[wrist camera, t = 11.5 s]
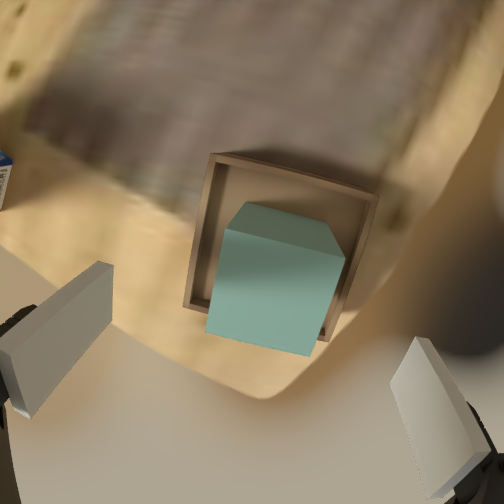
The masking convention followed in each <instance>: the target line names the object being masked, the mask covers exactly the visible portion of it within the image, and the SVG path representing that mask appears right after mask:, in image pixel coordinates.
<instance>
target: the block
mask: <svg viewBox="0 0 504 504" xmlns="http://www.w3.org/2000/svg"><path fill="white" fill-rule="evenodd" d="M345 259H346V258H345V256H344V254H343V252H342V250H341V249H340V247H339V245H338V243H337V241H336V239H335V237H334V235H333V234H332V232H331V230H330V228H329V226H328V224H327V223H326V222H323V221H320V220H316V219H312V218H308V217H304V216H300V215H296V214H293V213H289V212H285V211H281V210H277V209H273V208H269V207H265V206H260V205H256V204H252V203H248V202H245V203H244V204H243V205H242V207H241V208H240V209H239V211H238V212H237V213H236V215H235V216H234V217H233V219H232V220H231V221H230V223H229V224H228V225H227V227H226V228H225V232H224V237H223V242H222V247H221V252H220V257H219V261H218V266H217V271H216V276H215V282H214V287H213V292H212V297H211V302H210V307H209V312H208V318H207V323H206V328H205V332H207V333H210V334H214V335H218V336H222V337H226V338H230V339H234V340H237V341H242V342H246V343H250V344H254V345H258V346H262V347H267V348H271V349H275V350H280V351H285V352H289V353H294V354H299V355H303V356H308V357H310V355H311V353H312V350H313V348H314V345H315V343H316V340H317V337H318V335H319V332H320V330H321V327H322V324H323V322H324V319H325V316H326V314H327V311H328V308H329V306H330V303H331V300H332V297H333V294H334V292H335V289H336V286H337V283H338V280H339V277H340V274H341V271H342V268H343V265H344V262H345Z"/></svg>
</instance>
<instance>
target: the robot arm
mask: <svg viewBox="0 0 504 504" xmlns="http://www.w3.org/2000/svg"><path fill="white" fill-rule="evenodd" d="M113 269H114V265H111V264H108V263H104V262H101V261H97V262H96V263H95V264H93V265H92V266H90V267H89V268H88V269H86V270H85V271H84V272H82V273H81V274H80V275H78V276H77V277H76V278H74V279H73V280H72V281H70V282H69V283H68V284H66V285H65V286H64V287H62V288H61V289H60V290H58V291H57V292H56V293H55V294H53V295H52V296H51V297H49V298H48V299H47V300H46V301H44V302H43V303H42V304H40V305H39V306H36V305H30V306H27V307H25V308H22V309H20V310H19V311H18V312H17V313H15V314H14V315H13V316H12V318H9V319H8V320H6V321H5V323H3V324H2V325H0V504H21V500H20V496H19V492H18V487H17V483H16V478H15V473H14V468H13V462H12V457H11V450H10V444H9V435H8V427H7V418H6V409H5V406H4V403H5V402H6V401H7V399H8V398H10V401H11V403H12V406H13V409H14V410H16V411H18V412H19V413H21V414H22V415H24V416H26V417H28V418H29V419H31V418H32V417H33V416H34V415H35V413H36V412H37V411H38V409H39V408H40V407H41V406H42V404H43V403H44V402H45V401H46V399H47V398H48V397H49V395H50V394H51V393H52V392H53V390H54V389H55V388H56V387H57V385H58V384H59V383H60V381H61V380H62V379H63V378H64V377H65V375H66V374H67V373H68V372H69V371H70V369H71V368H72V367H73V366H74V364H75V363H76V362H77V361H78V360H79V358H80V357H81V356H82V355H83V354H84V353H85V351H86V350H87V349H88V348H89V347H90V345H91V344H92V343H93V342H94V341H95V340H96V338H97V337H98V336H99V335H100V334H101V333H102V331H103V330H104V329H105V328H106V327H107V326H108V324H109V323H110V322H111V321H112V296H113ZM390 387H391V389H392V392H393V395H394V398H395V400H396V403H397V405H398V409H399V412H400V415H401V418H402V420H403V423H404V426H405V429H406V432H407V436H408V439H409V442H410V445H411V448H412V451H413V454H414V458H415V461H416V464H417V468H418V471H419V474H420V478H421V481H422V485H423V488H424V492H425V495H426V499H427V500H429V499H436V498H442V497H444V496H445V495H446V494H447V493H448V492H450V491H451V490H452V489H454V491H455V495H454V496H453V497H452V498H450V499H449V500H448V501H447V502H446V503H444V504H504V453H499V454H498V452H497V450H496V448H495V446H494V444H493V442H492V440H491V438H490V436H489V435H488V433H487V431H486V429H485V428H484V425H483V423H482V421H480V418H479V416H478V414H477V412H476V410H475V409H474V408H473V407H472V406H471V405H470V404H469V403H468V402H466V401H465V399H464V397H463V395H462V393H461V392H460V390H459V388H458V386H457V385H456V383H455V381H454V380H453V378H452V376H451V374H450V373H449V371H448V370H447V368H446V366H445V364H444V363H443V361H442V359H441V358H440V356H439V354H438V353H437V351H436V350H435V348H434V346H433V345H432V343H431V342H430V340H429V339H426V338H420V337H415V338H414V340H413V342H412V344H411V346H410V348H409V350H408V351H407V353H406V355H405V357H404V359H403V361H402V363H401V364H400V366H399V368H398V370H397V372H396V373H395V375H394V377H393V378H392V380H391V382H390Z"/></svg>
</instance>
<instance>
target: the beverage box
mask: <svg viewBox="0 0 504 504" xmlns="http://www.w3.org/2000/svg"><path fill="white" fill-rule="evenodd" d="M13 162H14V160H12V159H11V158H10V157H8V156H7V155H6V154H5V153H3V152H2V151H1V150H0V212H1V209H2V204H3V200H4V196H5V192H6V188H7V184H8V180H9V176H10V172H11V169H12V165H13Z"/></svg>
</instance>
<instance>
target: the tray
mask: <svg viewBox="0 0 504 504" xmlns="http://www.w3.org/2000/svg"><path fill="white" fill-rule="evenodd" d="M378 201H379V196H377V195H375V194H373V193H371V192H369V191H368V190H366V189H364V188H361V187H358V186H354V185H351V184H347V183H344V182H341V181H337V180H334V179H330V178H326V177H323V176H319V175H316V174H312V173H308V172H304V171H300V170H297V169H293V168H289V167H285V166H281V165H277V164H273V163H268V162H264V161H260V160H255V159H251V158H247V157H242V156H238V155H233V154H228V153H210V156H209V161H208V166H207V171H206V176H205V181H204V185H203V191H202V196H201V201H200V206H199V211H198V217H197V222H196V228H195V233H194V239H193V245H192V250H191V256H190V262H189V268H188V275H187V281H186V287H185V294H184V301H183V307H184V308H188V309H191V310H195V311H198V312H202V313H206V314H208V312H209V307H210V302H211V297H212V292H213V287H214V282H215V276H216V271H217V266H218V261H219V257H220V252H221V247H222V242H223V237H224V232H225V228H226V227H227V225H228V224H229V223H230V221H231V220H232V219H233V217H234V216H235V215H236V213H237V212H238V211H239V209H240V208H241V207H242V205H243V204H244V203H245V202H248V203H252V204H256V205H260V206H265V207H269V208H273V209H277V210H281V211H285V212H289V213H293V214H296V215H300V216H304V217H308V218H312V219H316V220H320V221H323V222H326V223H327V224H328V226H329V228H330V230H331V232H332V234H333V235H334V237H335V239H336V241H337V243H338V245H339V247H340V249H341V250H342V252H343V254H344V256H345V258H346V259H345V262H344V265H343V268H342V271H341V274H340V277H339V280H338V283H337V286H336V289H335V292H334V294H333V297H332V300H331V303H330V306H329V308H328V311H327V314H326V316H325V319H324V322H323V324H322V327H321V330H320V332H319V335H318V337H317V340H319V341H324V342H329V341H330V338H331V336H332V334H333V331H334V329H335V326H336V324H337V321H338V318H339V316H340V313H341V311H342V308H343V305H344V303H345V300H346V297H347V295H348V292H349V289H350V287H351V284H352V281H353V278H354V275H355V273H356V270H357V267H358V264H359V261H360V258H361V255H362V252H363V249H364V246H365V243H366V240H367V237H368V234H369V230H370V227H371V224H372V221H373V218H374V214H375V211H376V207H377V204H378Z"/></svg>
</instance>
